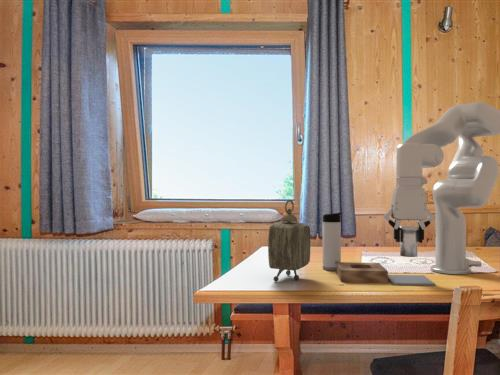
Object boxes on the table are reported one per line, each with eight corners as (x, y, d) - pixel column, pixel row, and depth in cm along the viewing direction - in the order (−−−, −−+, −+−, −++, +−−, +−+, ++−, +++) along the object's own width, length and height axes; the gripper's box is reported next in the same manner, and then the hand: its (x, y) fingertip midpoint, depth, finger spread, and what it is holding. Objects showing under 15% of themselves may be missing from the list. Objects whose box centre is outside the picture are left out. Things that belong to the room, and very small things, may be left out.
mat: (423, 277, 140) (423, 275, 140) (435, 285, 128) (435, 283, 128) (385, 276, 141) (385, 274, 141) (393, 285, 129) (393, 282, 129)
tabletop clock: (285, 273, 146) (285, 198, 146) (311, 276, 142) (311, 199, 142) (268, 282, 133) (268, 200, 133) (296, 285, 129) (296, 200, 129)
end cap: (416, 254, 137) (416, 225, 137) (421, 257, 131) (421, 227, 131) (396, 254, 138) (396, 225, 138) (400, 257, 132) (401, 227, 132)
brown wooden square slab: (379, 273, 146) (379, 262, 146) (387, 282, 133) (387, 271, 133) (336, 272, 148) (336, 262, 148) (340, 281, 134) (340, 270, 134)
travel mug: (341, 271, 150) (341, 213, 150) (322, 270, 152) (322, 212, 151) (341, 267, 156) (341, 211, 156) (322, 267, 158) (322, 211, 158)
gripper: (434, 183, 137) (433, 241, 137) (378, 183, 139) (377, 240, 139) (442, 183, 130) (441, 244, 130) (382, 183, 132) (382, 242, 132)
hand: (408, 241), depth 135 cm, fingers closed on end cap, 6 cm apart
